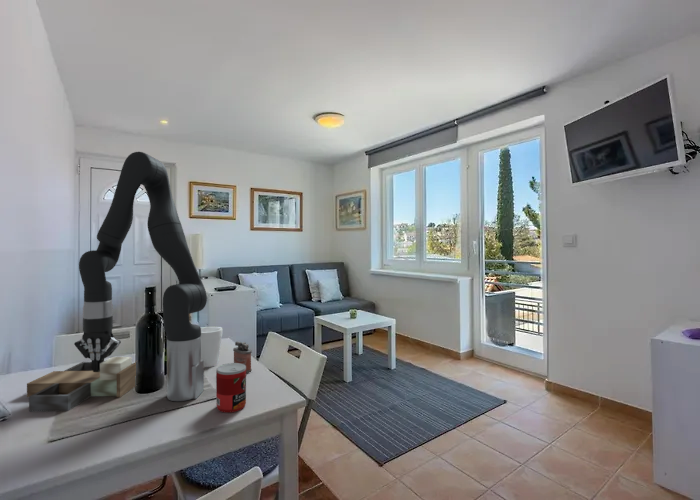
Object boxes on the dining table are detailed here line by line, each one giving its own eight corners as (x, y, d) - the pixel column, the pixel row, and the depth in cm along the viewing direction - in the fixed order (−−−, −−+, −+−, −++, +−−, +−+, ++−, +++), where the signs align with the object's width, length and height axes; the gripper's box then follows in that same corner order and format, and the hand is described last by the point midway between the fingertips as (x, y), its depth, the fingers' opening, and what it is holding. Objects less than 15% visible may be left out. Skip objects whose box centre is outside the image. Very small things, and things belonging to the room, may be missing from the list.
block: (131, 372, 113) (131, 356, 113) (120, 379, 107) (120, 363, 107) (112, 372, 113) (112, 357, 113) (99, 380, 107) (99, 363, 107)
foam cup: (216, 368, 128) (216, 332, 128) (190, 368, 128) (190, 332, 128) (226, 360, 138) (226, 326, 137) (202, 359, 138) (202, 326, 137)
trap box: (154, 372, 124) (154, 352, 124) (102, 410, 96) (102, 384, 96) (74, 373, 123) (73, 353, 123) (-2, 411, 95) (-3, 385, 95)
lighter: (253, 371, 126) (253, 343, 126) (246, 374, 123) (246, 345, 123) (238, 366, 130) (238, 339, 130) (230, 369, 127) (230, 341, 127)
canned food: (237, 414, 94) (237, 373, 94) (210, 411, 96) (210, 371, 96) (251, 401, 102) (251, 363, 102) (225, 399, 103) (225, 361, 103)
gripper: (127, 313, 113) (126, 367, 114) (84, 312, 113) (83, 366, 113) (112, 318, 106) (112, 376, 106) (66, 317, 105) (66, 375, 105)
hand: (97, 371), depth 110 cm, fingers closed
